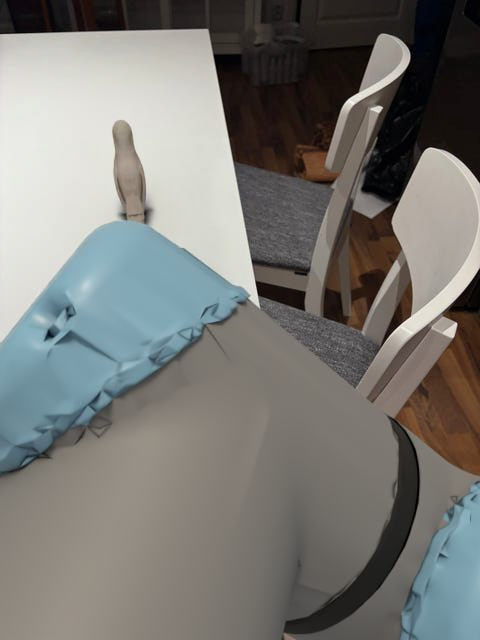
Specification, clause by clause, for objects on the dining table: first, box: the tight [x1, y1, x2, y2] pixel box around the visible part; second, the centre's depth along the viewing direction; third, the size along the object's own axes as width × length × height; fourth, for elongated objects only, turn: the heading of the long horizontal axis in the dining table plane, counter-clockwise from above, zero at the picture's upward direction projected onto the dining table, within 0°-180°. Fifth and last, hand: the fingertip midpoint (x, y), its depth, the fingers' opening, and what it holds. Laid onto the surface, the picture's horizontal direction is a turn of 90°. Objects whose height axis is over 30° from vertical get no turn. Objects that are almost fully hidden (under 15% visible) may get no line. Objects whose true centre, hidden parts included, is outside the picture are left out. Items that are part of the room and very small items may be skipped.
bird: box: [111, 119, 149, 224], centre depth 84 cm, size 5×14×15 cm, turn 13°
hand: (156, 441), depth 46 cm, fingers open, 13 cm apart
